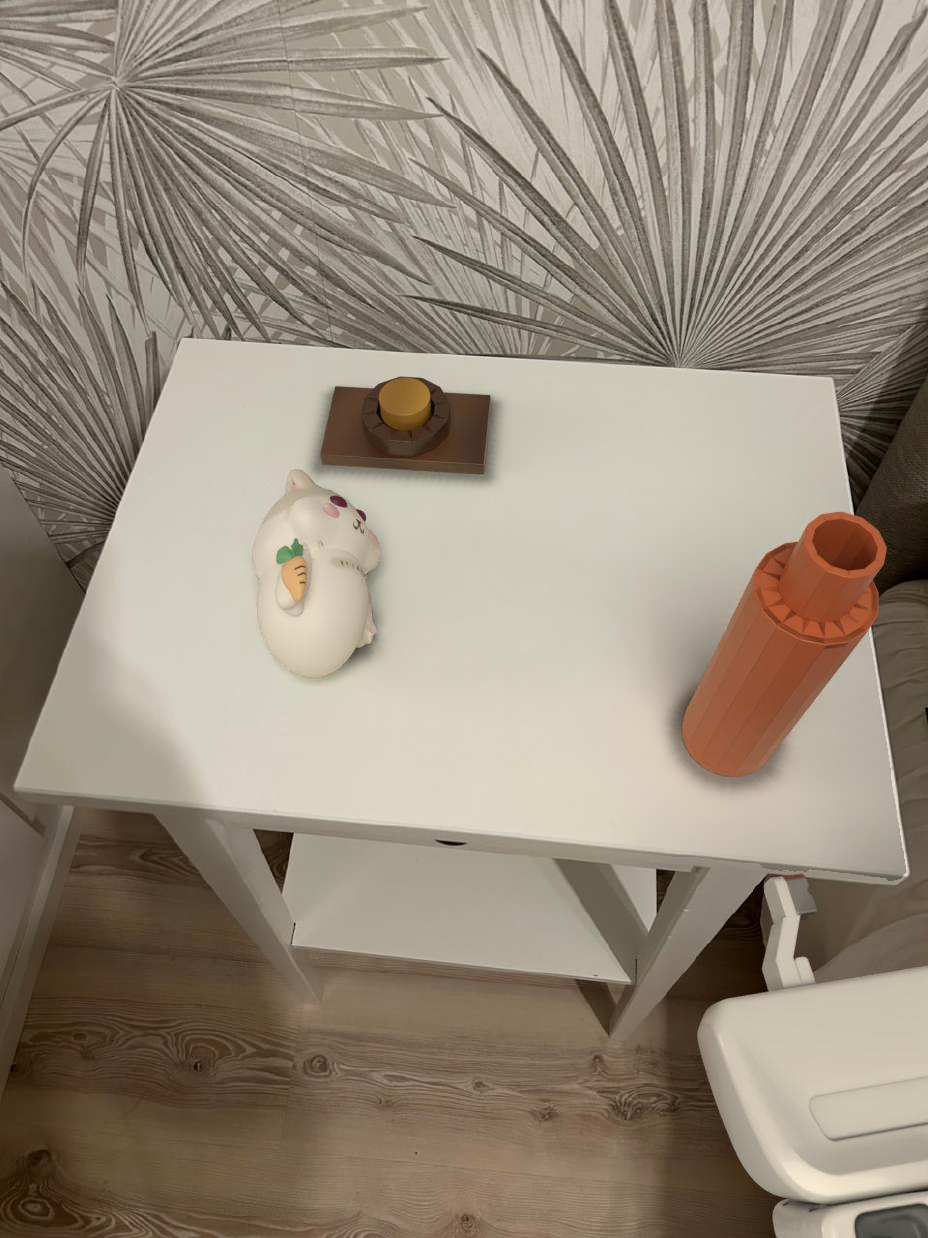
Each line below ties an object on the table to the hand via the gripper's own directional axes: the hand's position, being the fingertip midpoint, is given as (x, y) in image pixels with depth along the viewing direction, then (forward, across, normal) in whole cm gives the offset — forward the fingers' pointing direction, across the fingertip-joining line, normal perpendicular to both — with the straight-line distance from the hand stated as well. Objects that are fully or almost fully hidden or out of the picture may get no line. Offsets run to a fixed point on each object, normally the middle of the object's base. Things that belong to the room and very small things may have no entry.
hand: (881, 862), depth 41 cm
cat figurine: (+27, +26, +15) cm, 40 cm away
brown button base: (+42, +18, +14) cm, 48 cm away
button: (+42, +18, +12) cm, 47 cm away
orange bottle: (+12, 0, +14) cm, 19 cm away
